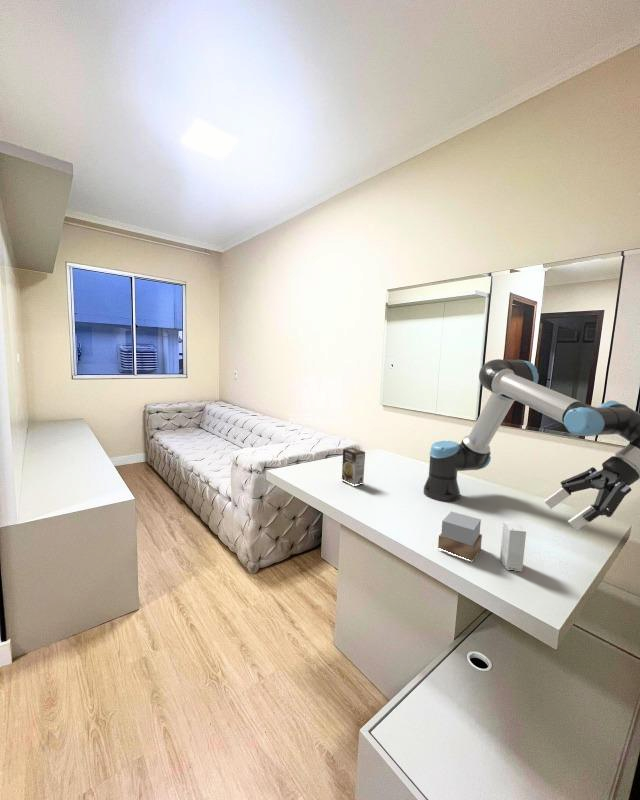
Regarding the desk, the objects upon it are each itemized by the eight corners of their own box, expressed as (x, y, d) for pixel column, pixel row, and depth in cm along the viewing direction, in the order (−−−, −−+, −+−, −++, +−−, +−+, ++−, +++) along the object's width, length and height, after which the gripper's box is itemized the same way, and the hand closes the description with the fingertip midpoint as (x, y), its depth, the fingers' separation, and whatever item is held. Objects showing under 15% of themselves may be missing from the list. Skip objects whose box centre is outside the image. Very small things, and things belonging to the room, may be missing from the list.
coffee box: (341, 481, 164) (342, 448, 163) (351, 479, 168) (352, 447, 166) (353, 487, 157) (355, 453, 155) (364, 484, 161) (365, 451, 159)
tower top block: (441, 536, 105) (442, 520, 104) (450, 525, 112) (451, 511, 112) (472, 546, 100) (473, 530, 99) (479, 534, 107) (480, 519, 106)
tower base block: (437, 551, 106) (438, 535, 105) (448, 538, 114) (449, 524, 113) (471, 563, 100) (473, 547, 99) (480, 549, 107) (482, 534, 107)
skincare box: (522, 573, 95) (526, 532, 94) (506, 570, 96) (509, 530, 95) (514, 560, 101) (518, 522, 100) (499, 558, 102) (502, 520, 101)
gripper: (677, 493, 78) (596, 548, 82) (607, 463, 103) (547, 506, 107) (653, 469, 79) (573, 524, 83) (589, 445, 103) (530, 488, 107)
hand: (558, 514), depth 95 cm, fingers open, 13 cm apart
